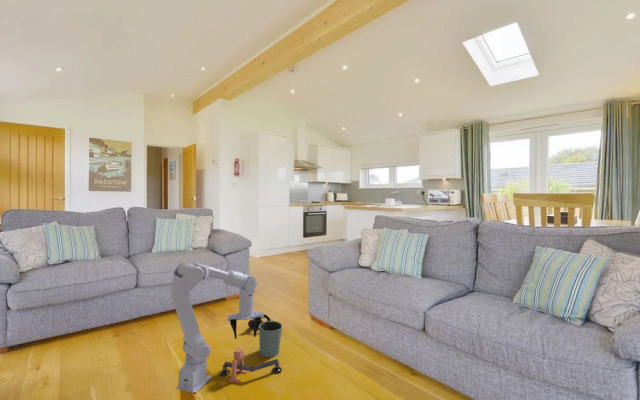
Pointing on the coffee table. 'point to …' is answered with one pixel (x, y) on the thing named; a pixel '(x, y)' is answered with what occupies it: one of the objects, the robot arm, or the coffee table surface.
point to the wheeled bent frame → (250, 368)
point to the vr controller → (251, 322)
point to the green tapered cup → (270, 338)
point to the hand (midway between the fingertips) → (245, 336)
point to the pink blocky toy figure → (238, 356)
